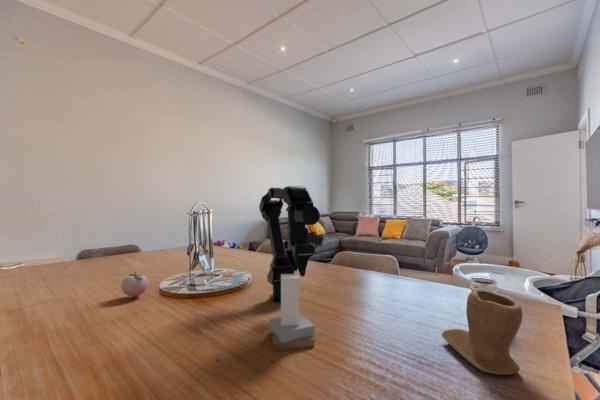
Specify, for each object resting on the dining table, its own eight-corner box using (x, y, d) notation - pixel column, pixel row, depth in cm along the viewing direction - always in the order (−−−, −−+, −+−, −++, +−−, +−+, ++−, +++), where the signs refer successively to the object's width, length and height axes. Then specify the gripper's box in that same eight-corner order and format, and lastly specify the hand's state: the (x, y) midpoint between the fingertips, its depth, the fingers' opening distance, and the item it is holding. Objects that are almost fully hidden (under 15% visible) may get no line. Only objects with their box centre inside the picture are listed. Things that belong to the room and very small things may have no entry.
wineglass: (490, 329, 76) (489, 285, 76) (465, 320, 82) (464, 279, 82) (503, 323, 79) (502, 282, 79) (479, 315, 85) (478, 276, 85)
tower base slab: (271, 333, 76) (271, 324, 76) (306, 330, 78) (306, 321, 78) (274, 353, 66) (274, 342, 67) (314, 348, 68) (314, 338, 68)
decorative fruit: (115, 300, 103) (115, 273, 104) (136, 293, 111) (135, 268, 111) (133, 303, 100) (132, 275, 100) (152, 296, 108) (152, 270, 108)
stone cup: (539, 379, 54) (537, 303, 54) (479, 380, 54) (478, 304, 54) (487, 341, 69) (485, 281, 70) (440, 341, 69) (439, 282, 70)
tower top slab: (269, 327, 75) (269, 318, 75) (300, 321, 78) (299, 312, 78) (281, 343, 66) (281, 332, 66) (314, 335, 70) (314, 325, 70)
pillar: (281, 318, 75) (280, 274, 75) (298, 318, 75) (297, 273, 75) (281, 325, 70) (280, 278, 70) (299, 325, 70) (298, 278, 70)
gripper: (330, 224, 82) (333, 277, 81) (312, 223, 100) (314, 266, 99) (294, 225, 79) (296, 280, 78) (282, 224, 97) (283, 269, 96)
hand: (298, 273), depth 88 cm, fingers open, 9 cm apart
